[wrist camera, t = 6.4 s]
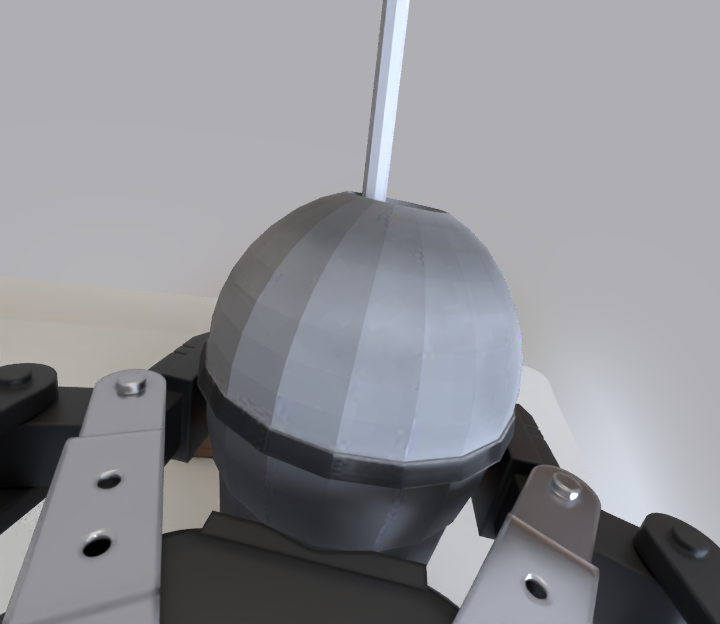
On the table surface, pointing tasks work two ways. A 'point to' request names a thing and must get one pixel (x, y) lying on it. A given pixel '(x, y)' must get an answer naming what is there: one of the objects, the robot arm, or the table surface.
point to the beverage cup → (362, 361)
